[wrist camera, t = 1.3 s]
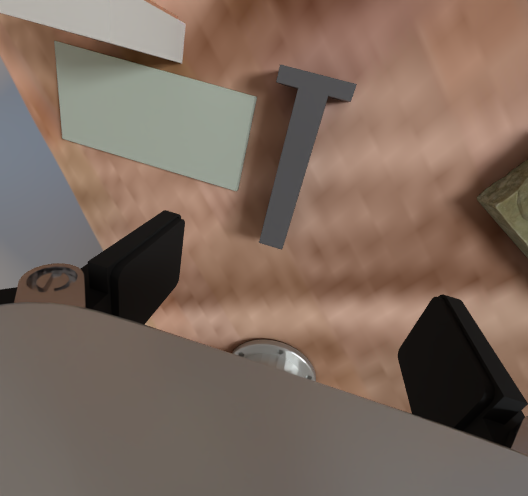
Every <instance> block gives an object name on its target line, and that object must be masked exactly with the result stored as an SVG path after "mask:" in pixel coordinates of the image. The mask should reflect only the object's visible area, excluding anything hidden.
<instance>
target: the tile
mask: <svg viewBox="0 0 528 496" xmlns="http://www.w3.org/2000/svg"><path fill="white" fill-rule="evenodd" d="M0 13H2V14H6V15H10V16H13V17H17V18H20V19H24V20H27V21H31V22H34V23H38V24H42V25H45V26H49V27H52V28H56V29H59V30H63V31H66V32H70V33H74V34H77V35H81V36H84V37H88V38H91V39H95V40H99V41H102V42H106V43H110V44H113V45H117V46H120V47H124V48H128V49H131V50H135V51H139V52H142V53H146V54H150V55H153V56H157V57H161V58H164V59H168V60H171V61H175V62H179V63H182V58H183V46H184V35H185V23H183V22H181V21H180V20H178V16H176V15H174V14H172V13H171V12H169V11H167V10H166V9H164V8H162V7H160V6H159V5H157V4H155V3H154V2H152V1H150V0H0Z"/></svg>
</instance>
